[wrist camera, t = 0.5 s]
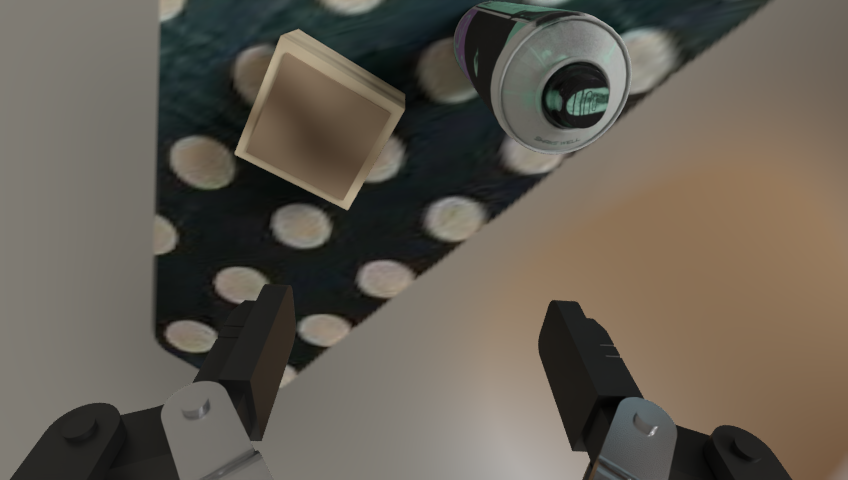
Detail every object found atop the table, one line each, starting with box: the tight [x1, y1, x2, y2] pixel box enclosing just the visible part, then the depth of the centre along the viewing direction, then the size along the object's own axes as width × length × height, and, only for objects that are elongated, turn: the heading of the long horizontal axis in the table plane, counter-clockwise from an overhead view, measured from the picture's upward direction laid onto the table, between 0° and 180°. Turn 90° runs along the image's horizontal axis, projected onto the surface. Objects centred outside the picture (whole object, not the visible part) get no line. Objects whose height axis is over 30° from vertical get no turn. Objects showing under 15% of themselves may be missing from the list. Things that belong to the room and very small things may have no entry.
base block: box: [235, 29, 405, 210], centre depth 32 cm, size 9×9×5 cm
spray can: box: [453, 1, 632, 154], centre depth 23 cm, size 6×6×20 cm
